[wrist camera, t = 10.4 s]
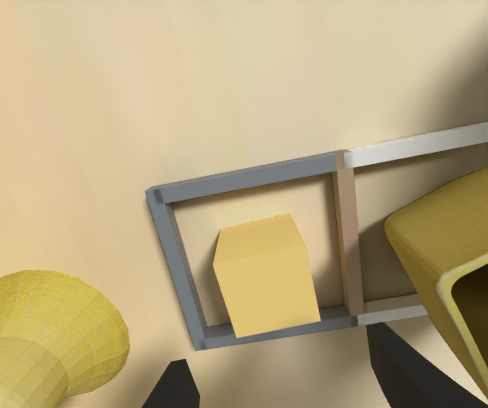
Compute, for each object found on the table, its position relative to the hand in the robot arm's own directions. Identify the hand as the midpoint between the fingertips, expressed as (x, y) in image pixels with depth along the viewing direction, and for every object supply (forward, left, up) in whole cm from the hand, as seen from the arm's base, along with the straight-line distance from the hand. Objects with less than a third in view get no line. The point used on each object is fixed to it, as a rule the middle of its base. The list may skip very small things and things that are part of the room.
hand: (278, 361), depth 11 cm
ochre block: (0, 0, -10) cm, 10 cm away
